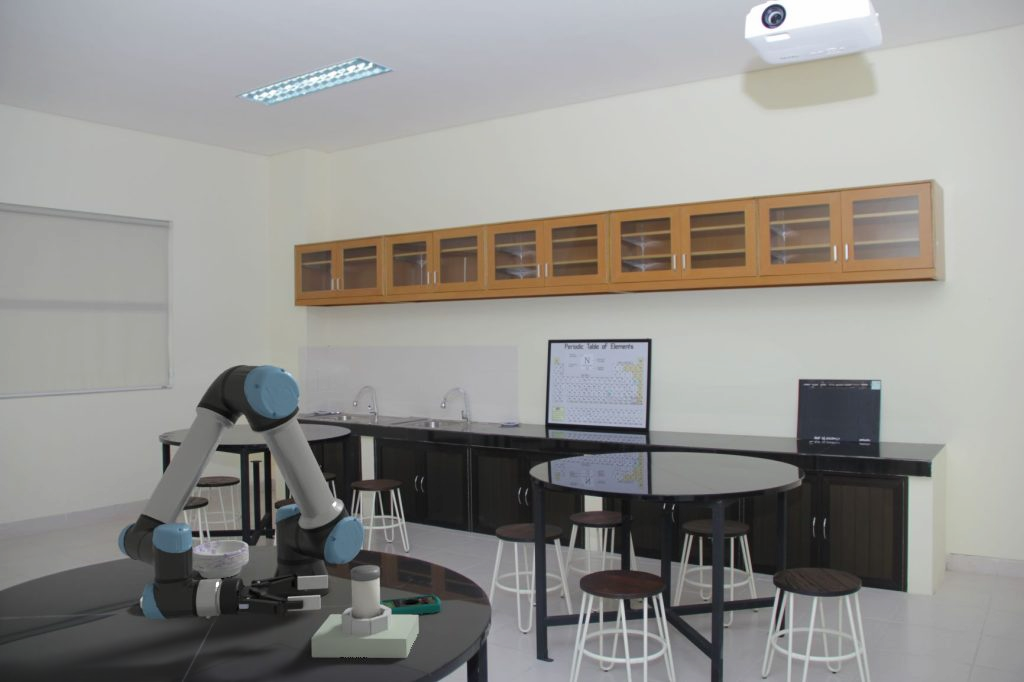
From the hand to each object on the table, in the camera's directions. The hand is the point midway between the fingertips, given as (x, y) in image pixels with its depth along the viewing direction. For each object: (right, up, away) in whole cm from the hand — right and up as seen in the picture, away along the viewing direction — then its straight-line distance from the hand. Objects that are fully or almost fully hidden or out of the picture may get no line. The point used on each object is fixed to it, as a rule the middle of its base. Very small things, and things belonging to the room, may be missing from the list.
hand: (324, 591), depth 173 cm
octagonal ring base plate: (+9, -12, +1) cm, 15 cm away
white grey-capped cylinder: (+9, -8, +1) cm, 12 cm away
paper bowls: (-42, -12, +54) cm, 69 cm away
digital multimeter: (+16, -12, +22) cm, 29 cm away
